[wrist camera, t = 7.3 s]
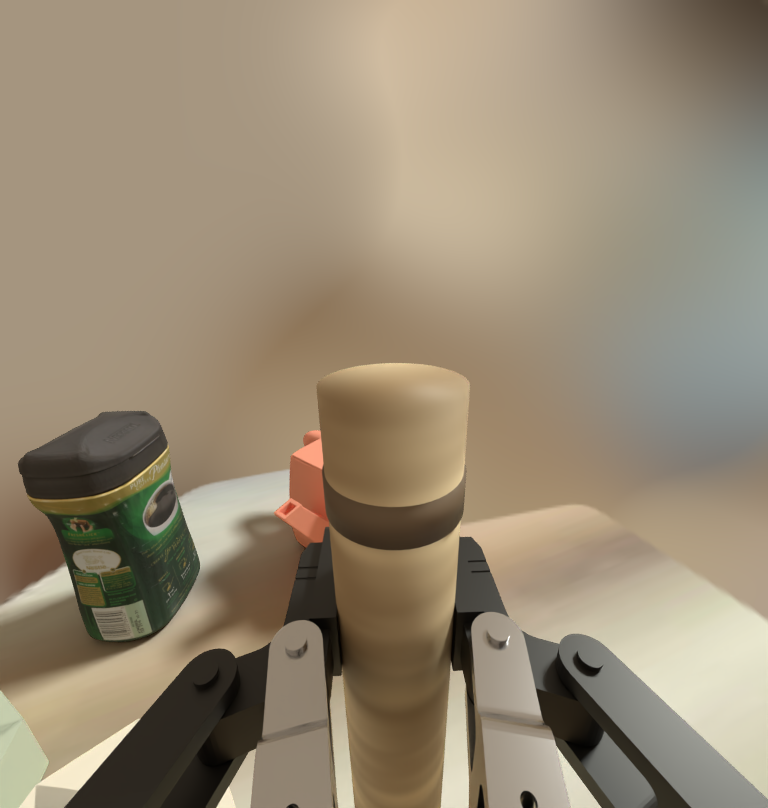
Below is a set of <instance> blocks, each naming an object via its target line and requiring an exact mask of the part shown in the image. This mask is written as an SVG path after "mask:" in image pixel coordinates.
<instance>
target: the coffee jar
mask: <svg viewBox="0 0 768 808" xmlns="http://www.w3.org/2000/svg"><path fill="white" fill-rule="evenodd" d="M18 467H19V472H20V474H21V475H22V477H23V482H24V486H25V488H26V492H27V497H28V498H29V500H30V501H31V503H32V504H33V505H34V506H35V507H36V508H37V509H39V510H40V511H41V512H43V513H44V514H45V515H46V516H47V517H48V519H49V520H50V522H51V523H52V525H53V527H54V529H55V532H56V534H57V537H58V539H59V542H60V544H61V548H62V551H63V554H64V557H65V560H66V563H67V566H68V570H69V573H70V576H71V580H72V583H73V587H74V590H75V595H76V599H77V602H78V606H79V610H80V613H81V616H82V619H83V621H84V624H85V627H86V629H87V632H88V633H89V635H90V636H91V637H93V638H94V639H97V640H102V641H109V642H124V641H132V640H136V639H139V638H143V637H145V636H148V635H150V634H152V633H154V632H156V631H158V630H160V629H162V628H163V627H164V626H165V625H167V624H168V623H169V622H170V620H171V619H172V618H173V617H174V615H175V614H176V613H177V611H178V610H179V608H180V607H181V605H182V604H183V602H184V601H185V599H186V598H187V596H188V594H189V592H190V590H191V588H192V586H193V584H194V582H195V580H196V578H197V575H198V573H199V569H200V562H199V558H198V554H197V551H196V548H195V545H194V543H193V540H192V537H191V535H190V532H189V529H188V527H187V524H186V521H185V518H184V515H183V512H182V509H181V506H180V503H179V500H178V497H177V493H176V490H175V487H174V483H173V479H172V474H171V466H170V452H169V446H168V442H167V440H166V437H165V434H164V432H163V430H162V427H161V425H160V423H159V421H158V420H157V419H156V418H155V417H153V416H151V415H150V414H149V413H147V412H145V411H121V412H120V411H119V412H118V411H117V412H102V413H100V414H99V416H98V417H96V418H94V419H92V420H90V421H88V422H86V423H84V424H82V425H80V426H78V427H76V428H74V429H72V430H70V431H68V432H67V433H65V434H63V435H61V436H59V437H58V438H56V439H54V440H52V441H50V442H48V443H47V444H45V445H43V446H41V447H39V448H37V449H35V450H32V451H30V452H28V453H26V454H25V455H24V457H23V458H21V459H20V460H19V463H18Z"/></svg>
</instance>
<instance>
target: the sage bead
mask: <svg viewBox="0 0 768 808" xmlns="http://www.w3.org/2000/svg"><path fill="white" fill-rule="evenodd" d="M48 763H49V761H48V759H47V758H46V756H45V754H44V752H43V751H42V749H41V747H40V746H39V744H38V742H37V741H36V739H35V737H34V735H33V734H32V732H31V730H30V729H29V727H28V725H27V723H26V722H25V720H24V719H23V717H22V716H21V715H20V714H19V712H18V711H17V710H16V709H15V708H14V706H13V705H12V704H11V703H10V701H9V700H8V699H7V698H6V697H5V695H4V694H3V693H2V692H1V690H0V808H19V807H20V805H21V804H22V803H23V801H24V800H25V799H26V797H27V796H28V795H29V793H30V792H31V791H32V789H33V788H34V787H35V785H36V784H38V783H39V782H41V779H42V777H43V775H44V773H45V770H46V768H47V766H48Z"/></svg>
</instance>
